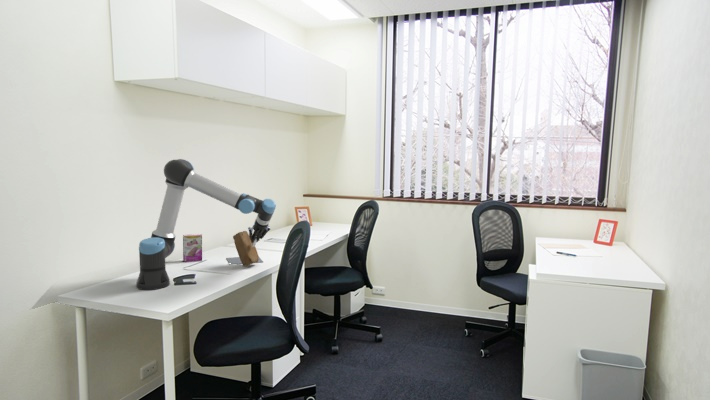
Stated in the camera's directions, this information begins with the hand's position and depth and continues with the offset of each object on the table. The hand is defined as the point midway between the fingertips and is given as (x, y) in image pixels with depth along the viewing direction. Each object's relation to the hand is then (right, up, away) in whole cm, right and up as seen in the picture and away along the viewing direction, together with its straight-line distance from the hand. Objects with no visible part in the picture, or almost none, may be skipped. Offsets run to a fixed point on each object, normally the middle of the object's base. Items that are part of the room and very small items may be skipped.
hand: (252, 244), depth 258 cm
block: (0, -12, +1) cm, 12 cm away
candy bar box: (-40, -11, +13) cm, 44 cm away
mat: (-9, -11, +15) cm, 21 cm away
